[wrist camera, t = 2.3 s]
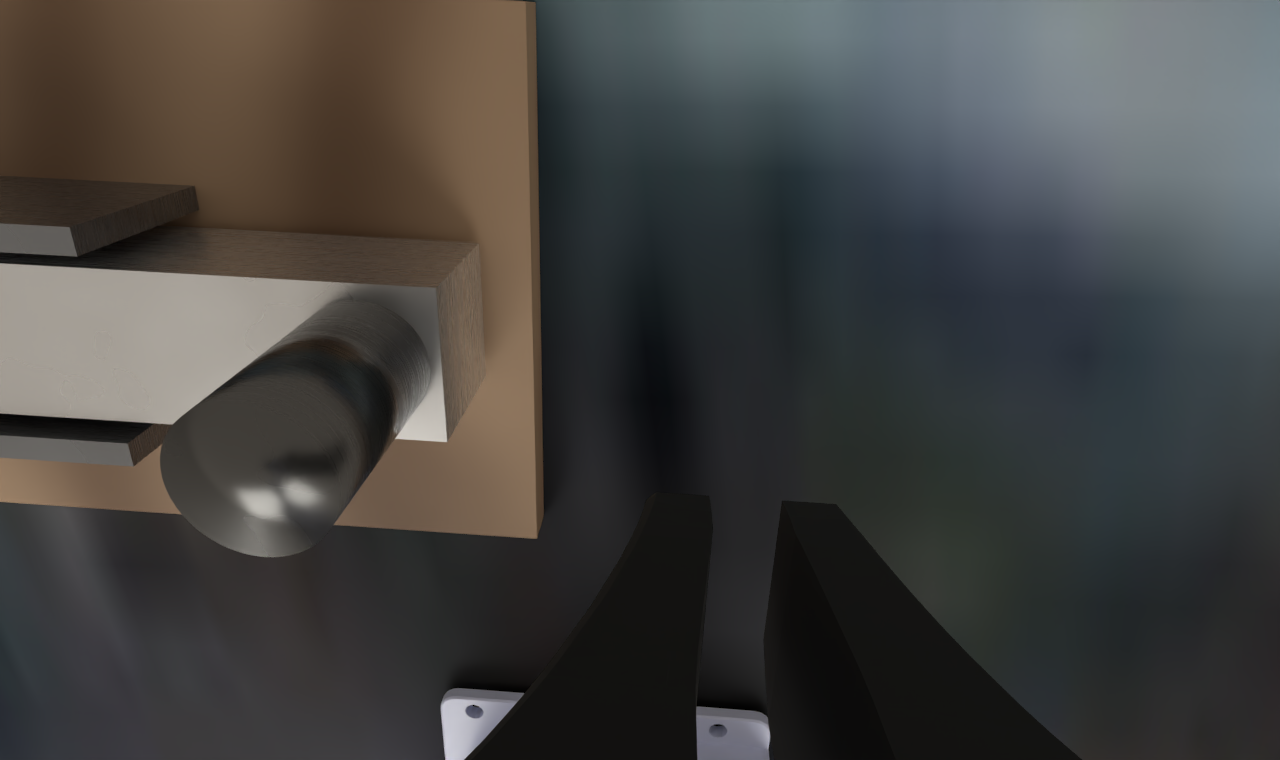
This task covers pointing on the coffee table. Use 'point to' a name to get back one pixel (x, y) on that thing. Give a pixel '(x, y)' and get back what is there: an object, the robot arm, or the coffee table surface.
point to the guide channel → (73, 226)
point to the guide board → (312, 189)
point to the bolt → (251, 361)
